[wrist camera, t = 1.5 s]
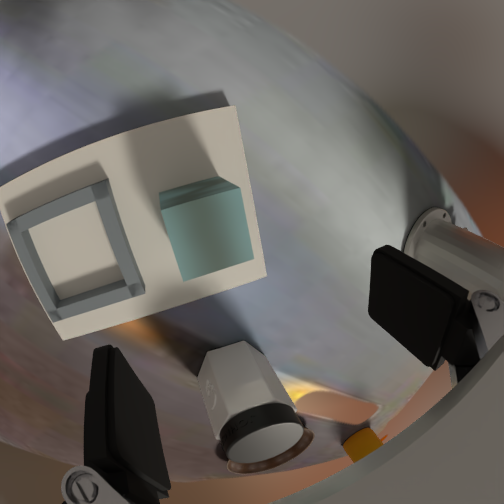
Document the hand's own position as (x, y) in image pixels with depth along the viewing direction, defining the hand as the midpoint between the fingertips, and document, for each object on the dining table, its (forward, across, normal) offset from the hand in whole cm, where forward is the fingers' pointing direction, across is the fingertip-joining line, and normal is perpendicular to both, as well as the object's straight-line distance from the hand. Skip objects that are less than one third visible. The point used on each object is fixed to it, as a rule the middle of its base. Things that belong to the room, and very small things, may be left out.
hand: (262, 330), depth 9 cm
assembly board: (+17, +6, 0) cm, 18 cm away
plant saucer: (+18, 0, +46) cm, 49 cm away
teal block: (+16, 0, 0) cm, 16 cm away
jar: (+17, 0, +20) cm, 27 cm away
